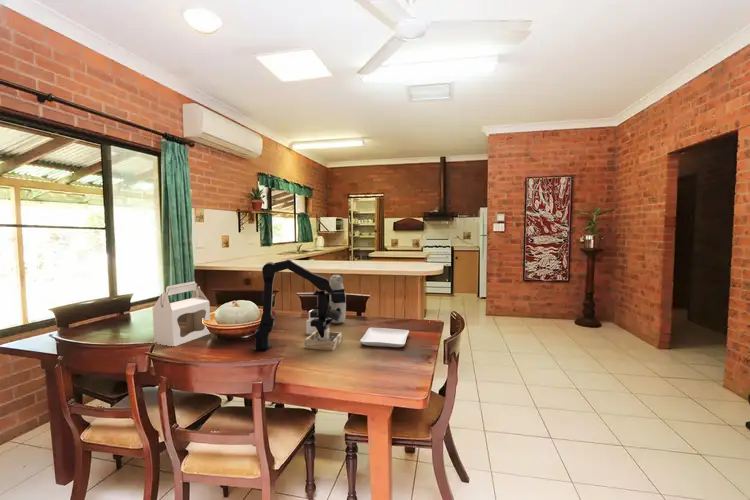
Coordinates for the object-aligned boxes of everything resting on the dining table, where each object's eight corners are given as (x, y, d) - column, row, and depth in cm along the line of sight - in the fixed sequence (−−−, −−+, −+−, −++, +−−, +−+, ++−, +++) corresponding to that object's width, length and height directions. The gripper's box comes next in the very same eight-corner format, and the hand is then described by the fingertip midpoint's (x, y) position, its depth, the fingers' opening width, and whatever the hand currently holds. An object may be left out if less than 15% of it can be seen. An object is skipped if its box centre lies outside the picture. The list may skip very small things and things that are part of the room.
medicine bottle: (323, 330, 187) (322, 308, 186) (319, 334, 180) (319, 312, 179) (310, 330, 188) (309, 308, 187) (306, 334, 181) (305, 311, 180)
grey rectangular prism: (326, 343, 164) (326, 326, 163) (318, 342, 164) (318, 325, 164) (329, 340, 168) (329, 323, 167) (321, 339, 168) (321, 323, 168)
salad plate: (404, 350, 158) (404, 343, 157) (359, 347, 162) (359, 340, 162) (409, 336, 178) (409, 329, 178) (369, 333, 183) (369, 327, 182)
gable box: (173, 347, 163) (169, 288, 161) (153, 343, 168) (150, 286, 166) (211, 333, 184) (209, 280, 182) (193, 330, 189) (190, 279, 187)
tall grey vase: (349, 322, 203) (348, 274, 201) (338, 326, 194) (337, 276, 192) (335, 319, 208) (335, 273, 206) (324, 323, 200) (323, 275, 197)
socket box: (333, 350, 158) (333, 341, 158) (304, 348, 161) (304, 340, 160) (342, 340, 172) (342, 332, 171) (315, 338, 174) (315, 330, 174)
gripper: (333, 309, 154) (333, 343, 155) (345, 300, 172) (345, 331, 173) (309, 308, 156) (310, 342, 157) (324, 299, 174) (324, 329, 176)
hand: (323, 336), depth 166 cm, fingers closed on grey rectangular prism, 4 cm apart
